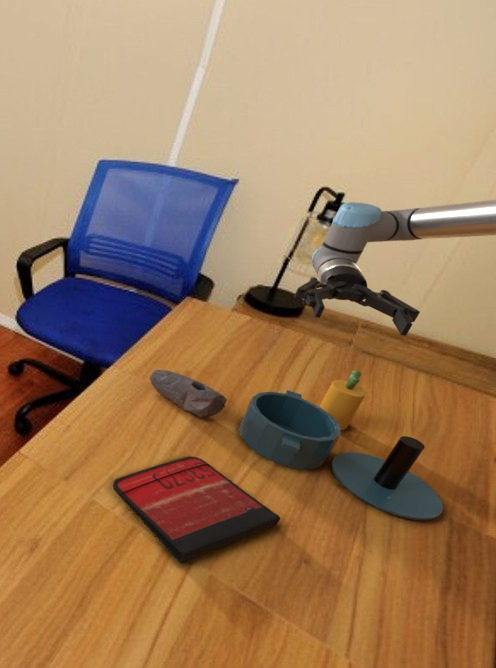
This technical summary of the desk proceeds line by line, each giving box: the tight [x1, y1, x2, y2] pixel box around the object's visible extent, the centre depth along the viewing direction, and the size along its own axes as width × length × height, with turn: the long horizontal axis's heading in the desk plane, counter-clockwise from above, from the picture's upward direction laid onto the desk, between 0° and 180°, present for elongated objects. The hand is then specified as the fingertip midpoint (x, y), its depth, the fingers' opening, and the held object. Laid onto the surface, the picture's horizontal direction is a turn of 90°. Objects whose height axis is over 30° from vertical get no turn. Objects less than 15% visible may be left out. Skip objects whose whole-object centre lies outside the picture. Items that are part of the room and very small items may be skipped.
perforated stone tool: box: [149, 369, 228, 418], centre depth 111 cm, size 15×5×7 cm, turn 29°
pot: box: [238, 389, 342, 471], centre depth 100 cm, size 14×19×8 cm
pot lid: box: [330, 435, 444, 521], centre depth 89 cm, size 15×15×11 cm
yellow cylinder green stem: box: [318, 370, 367, 431], centre depth 103 cm, size 5×5×13 cm
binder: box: [112, 456, 281, 563], centre depth 88 cm, size 16×2×21 cm
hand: (362, 320), depth 105 cm, fingers open, 13 cm apart
